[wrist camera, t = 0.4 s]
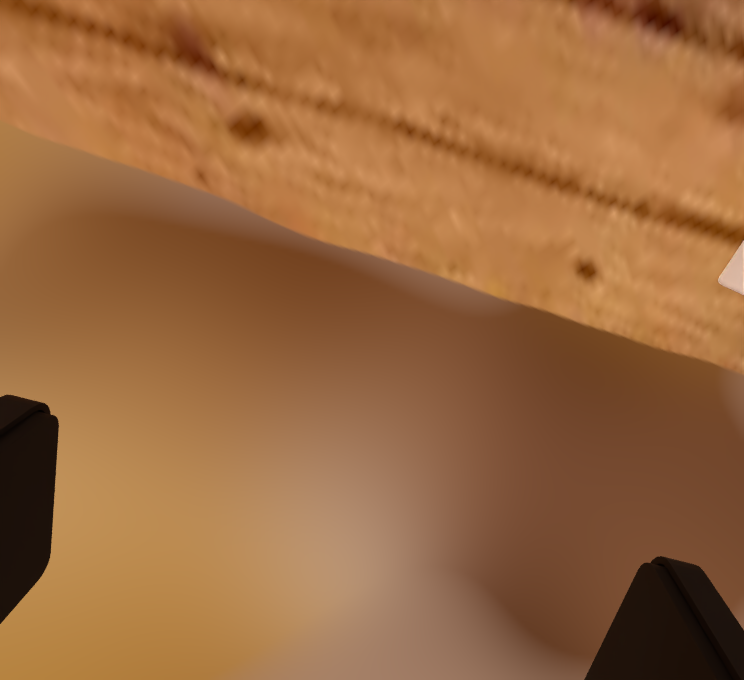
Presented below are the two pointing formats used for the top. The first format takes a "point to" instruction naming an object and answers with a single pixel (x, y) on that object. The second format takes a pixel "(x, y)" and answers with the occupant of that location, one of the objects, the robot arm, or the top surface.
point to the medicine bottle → (734, 272)
